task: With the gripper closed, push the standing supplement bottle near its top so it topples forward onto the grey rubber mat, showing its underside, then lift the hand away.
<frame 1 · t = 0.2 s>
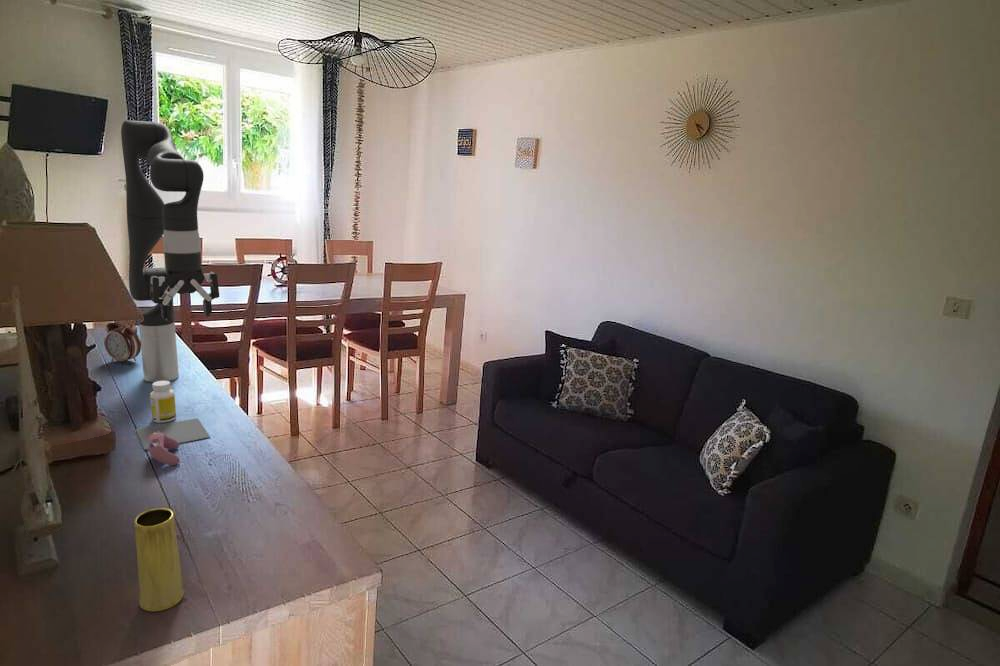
hand: (187, 318, 147), 29 cm above the sideboard, tool pointing down, fingers open, 8 cm apart
supplement bottle: (164, 419, 160), on the sideboard
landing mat: (172, 434, 152), on the sideboard
video game controller: (164, 459, 140), on the sideboard
vase: (162, 599, 97), on the sideboard
alarm clock: (124, 362, 200), on the sideboard
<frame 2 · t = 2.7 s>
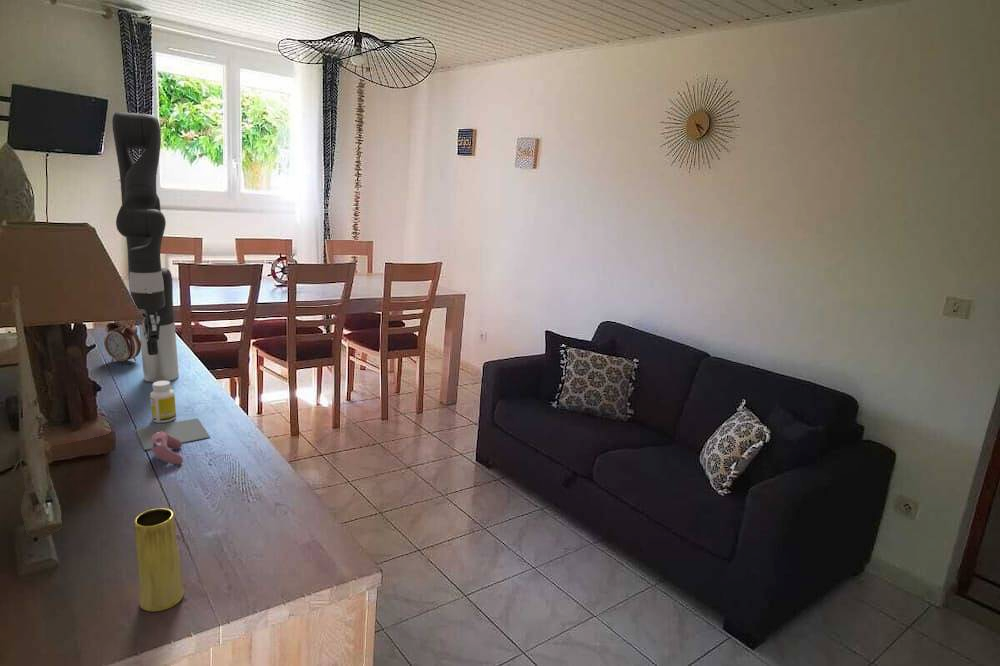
hand: (152, 354, 163), 15 cm above the sideboard, tool pointing down, fingers closed
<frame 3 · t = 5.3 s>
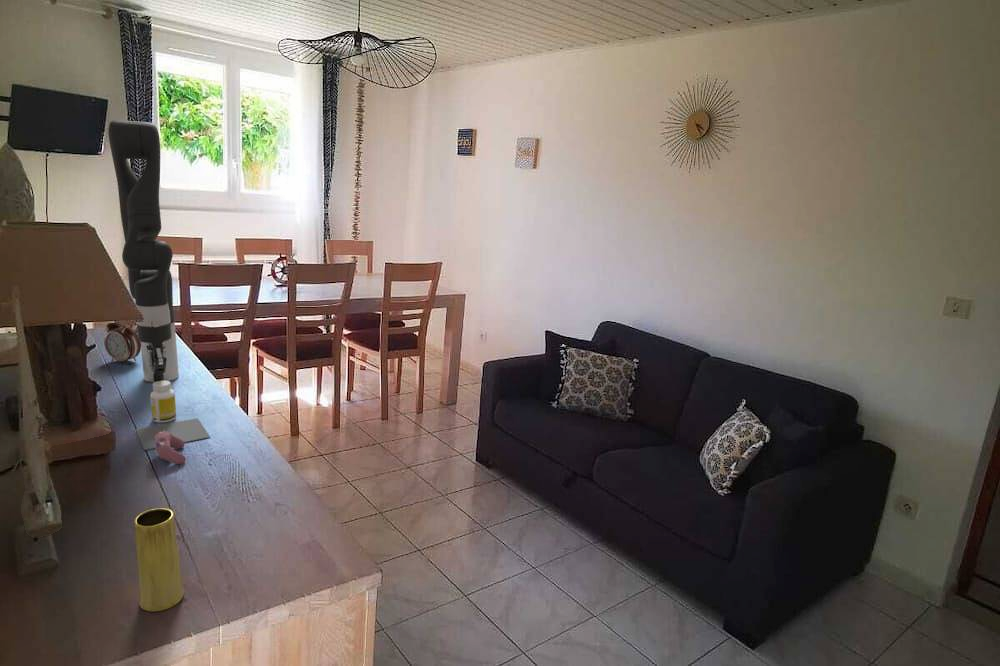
hand: (159, 386, 161), 8 cm above the sideboard, tool pointing down, fingers closed
supplement bottle: (164, 419, 160), on the sideboard, touching gripper
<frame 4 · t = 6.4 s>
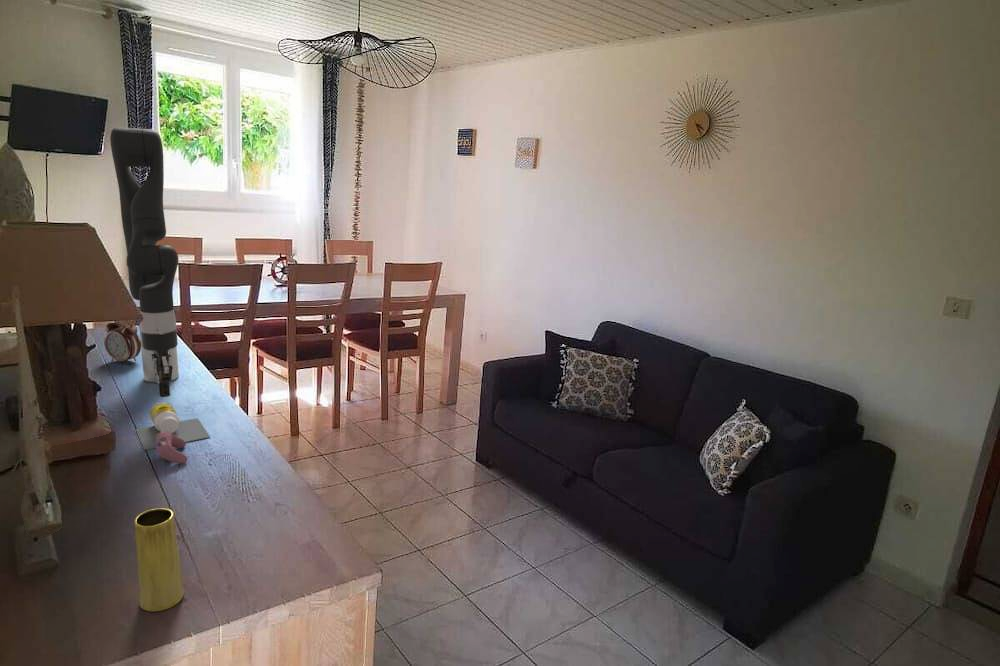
hand: (164, 395, 155), 8 cm above the sideboard, tool pointing down, fingers closed
supplement bottle: (161, 411, 157), point 3 cm above the sideboard, touching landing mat
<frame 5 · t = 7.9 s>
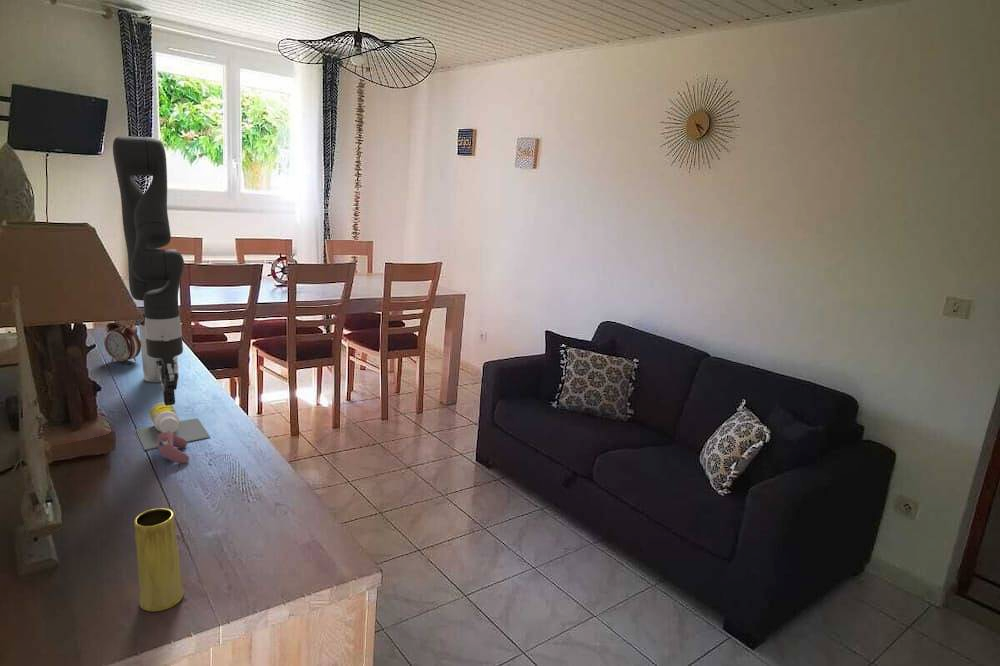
hand: (169, 404, 151), 8 cm above the sideboard, tool pointing down, fingers closed
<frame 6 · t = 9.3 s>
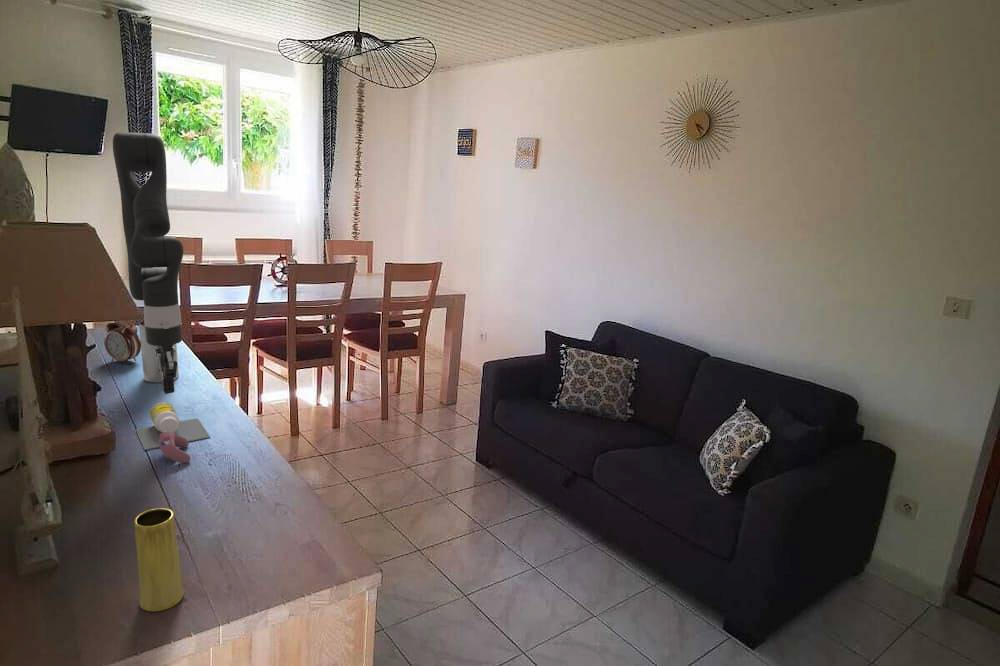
hand: (168, 392, 150), 11 cm above the sideboard, tool pointing down, fingers closed
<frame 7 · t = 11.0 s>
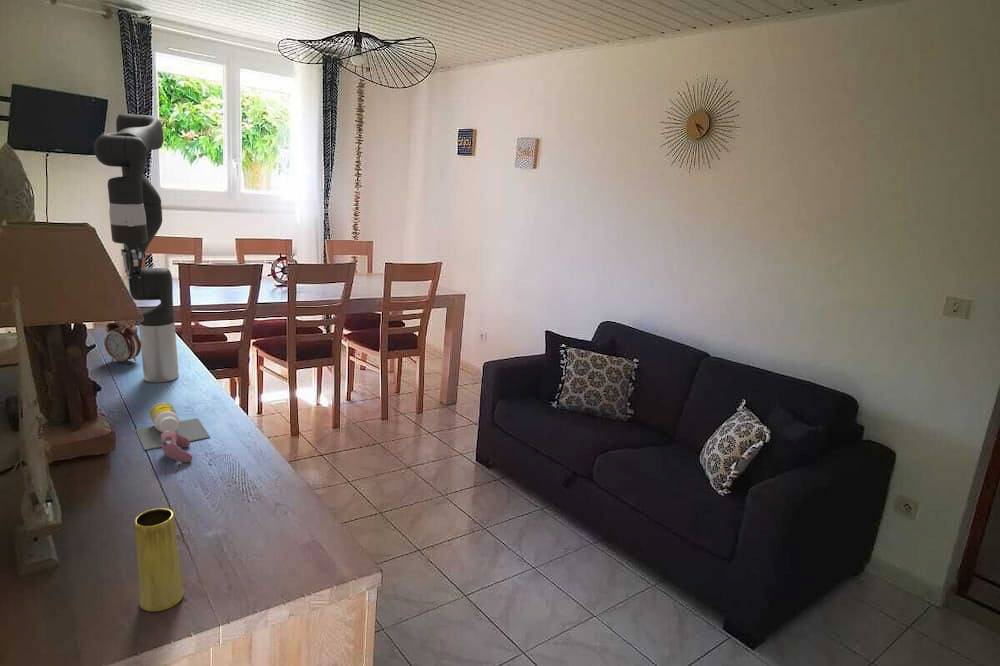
hand: (135, 292, 155), 32 cm above the sideboard, tool pointing down, fingers closed
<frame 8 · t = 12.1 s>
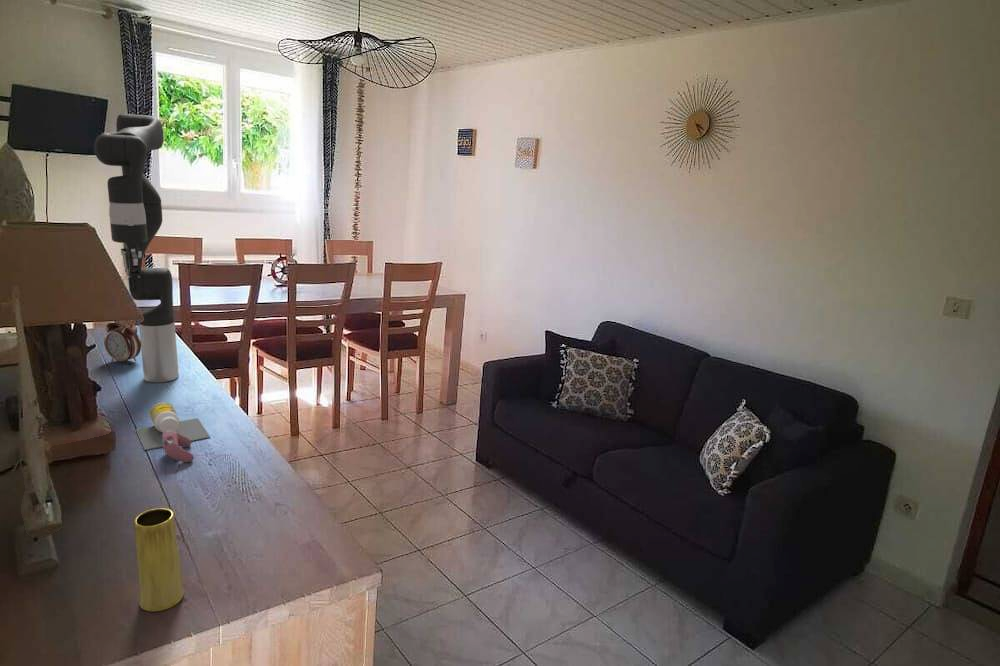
hand: (135, 292, 155), 32 cm above the sideboard, tool pointing down, fingers closed
at the end: supplement bottle tilted 91°; supplement bottle touching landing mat; supplement bottle inside the target area (5.2 cm from its centre), point 3.1 cm above the sideboard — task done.
